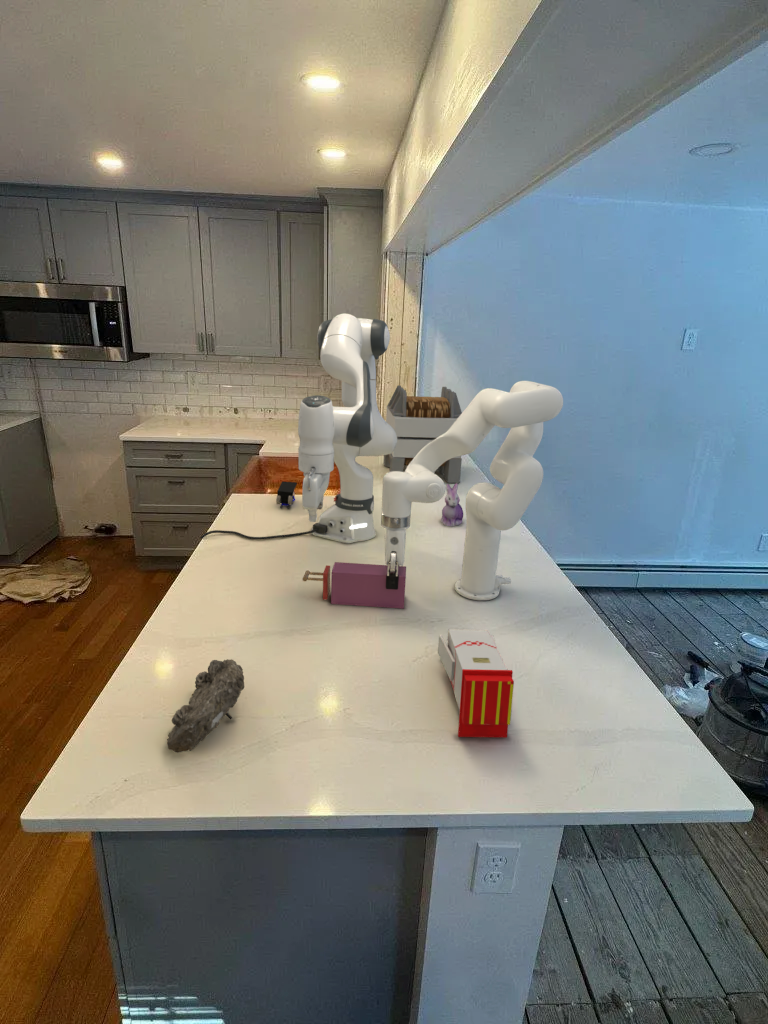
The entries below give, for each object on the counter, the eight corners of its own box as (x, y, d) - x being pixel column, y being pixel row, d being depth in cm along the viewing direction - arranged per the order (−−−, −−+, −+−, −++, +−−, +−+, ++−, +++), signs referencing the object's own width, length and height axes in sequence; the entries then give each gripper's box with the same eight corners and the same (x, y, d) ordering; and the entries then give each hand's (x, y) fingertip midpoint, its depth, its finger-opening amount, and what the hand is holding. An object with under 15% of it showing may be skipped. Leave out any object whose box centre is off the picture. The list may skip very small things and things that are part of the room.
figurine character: (293, 513, 218) (297, 497, 231) (292, 495, 215) (297, 480, 228) (275, 513, 218) (281, 496, 231) (274, 495, 214) (280, 479, 228)
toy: (488, 613, 130) (523, 677, 101) (484, 667, 133) (517, 744, 104) (435, 612, 130) (455, 676, 101) (432, 666, 133) (451, 743, 103)
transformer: (382, 463, 289) (386, 382, 275) (445, 464, 293) (451, 384, 279) (390, 482, 257) (394, 392, 243) (460, 483, 261) (468, 394, 247)
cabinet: (331, 604, 151) (331, 572, 148) (334, 592, 157) (334, 561, 154) (403, 608, 150) (405, 576, 147) (404, 597, 156) (406, 566, 153)
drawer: (302, 598, 152) (302, 572, 149) (305, 589, 156) (305, 564, 154) (391, 603, 151) (393, 577, 148) (392, 594, 155) (393, 569, 153)
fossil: (192, 660, 117) (244, 628, 112) (224, 691, 120) (276, 661, 115) (142, 746, 98) (202, 712, 93) (182, 779, 101) (242, 748, 96)
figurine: (448, 528, 206) (452, 489, 201) (433, 519, 215) (436, 481, 210) (470, 525, 210) (473, 486, 205) (454, 516, 219) (457, 479, 214)
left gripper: (322, 474, 132) (322, 529, 137) (334, 453, 151) (333, 502, 156) (295, 472, 132) (296, 528, 137) (310, 452, 151) (310, 501, 156)
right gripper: (409, 533, 137) (405, 599, 143) (410, 509, 153) (406, 569, 159) (379, 531, 137) (376, 597, 143) (383, 507, 154) (380, 567, 160)
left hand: (316, 514), depth 146 cm, fingers open, 8 cm apart
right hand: (392, 582), depth 151 cm, fingers closed on cabinet, 6 cm apart
